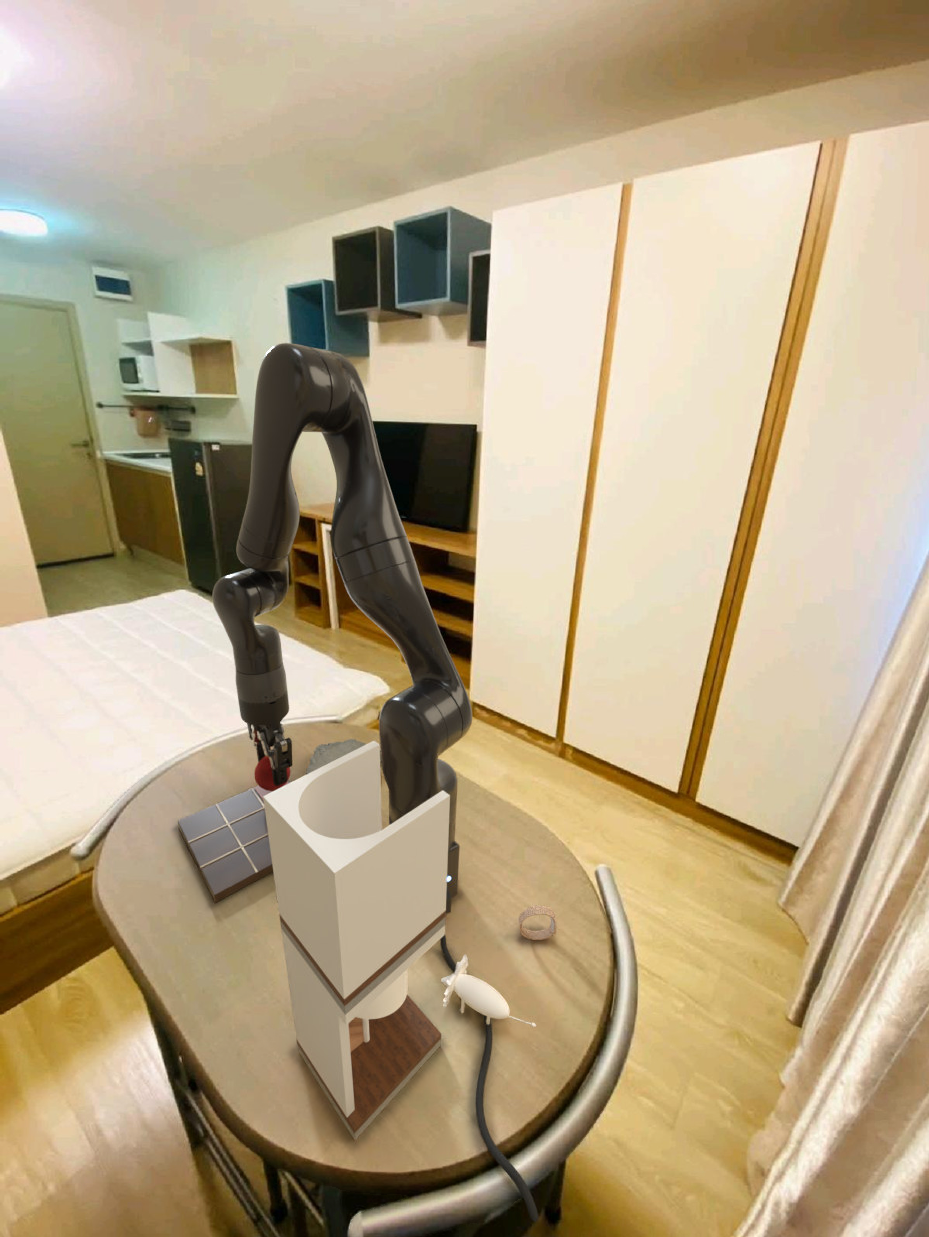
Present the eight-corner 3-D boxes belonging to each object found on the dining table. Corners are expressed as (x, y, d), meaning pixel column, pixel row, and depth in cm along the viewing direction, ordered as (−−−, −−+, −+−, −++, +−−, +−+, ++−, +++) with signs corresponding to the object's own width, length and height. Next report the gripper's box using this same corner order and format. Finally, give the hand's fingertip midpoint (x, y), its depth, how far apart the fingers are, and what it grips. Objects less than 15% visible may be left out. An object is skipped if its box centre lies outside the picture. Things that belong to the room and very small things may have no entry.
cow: (430, 1007, 61) (431, 981, 59) (454, 969, 65) (455, 943, 64) (523, 1071, 56) (527, 1044, 54) (542, 1025, 60) (547, 998, 58)
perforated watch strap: (554, 945, 69) (558, 918, 67) (518, 944, 69) (521, 918, 67) (551, 926, 71) (554, 900, 69) (516, 925, 71) (519, 899, 69)
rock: (282, 776, 97) (280, 755, 95) (349, 739, 109) (349, 720, 107) (322, 806, 90) (321, 784, 89) (389, 763, 102) (389, 743, 101)
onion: (295, 778, 94) (291, 742, 91) (286, 801, 89) (282, 763, 86) (263, 778, 94) (258, 741, 91) (252, 801, 89) (246, 762, 86)
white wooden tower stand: (355, 1140, 50) (334, 873, 37) (297, 1050, 57) (263, 796, 43) (440, 1045, 58) (449, 795, 44) (381, 975, 64) (374, 740, 51)
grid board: (332, 839, 84) (331, 831, 83) (215, 903, 73) (213, 894, 72) (284, 781, 96) (283, 773, 95) (178, 827, 85) (176, 819, 84)
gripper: (222, 678, 86) (235, 761, 93) (256, 716, 76) (268, 806, 83) (267, 665, 91) (276, 745, 97) (304, 700, 81) (312, 786, 88)
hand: (272, 772), depth 90 cm, fingers closed on onion, 6 cm apart
